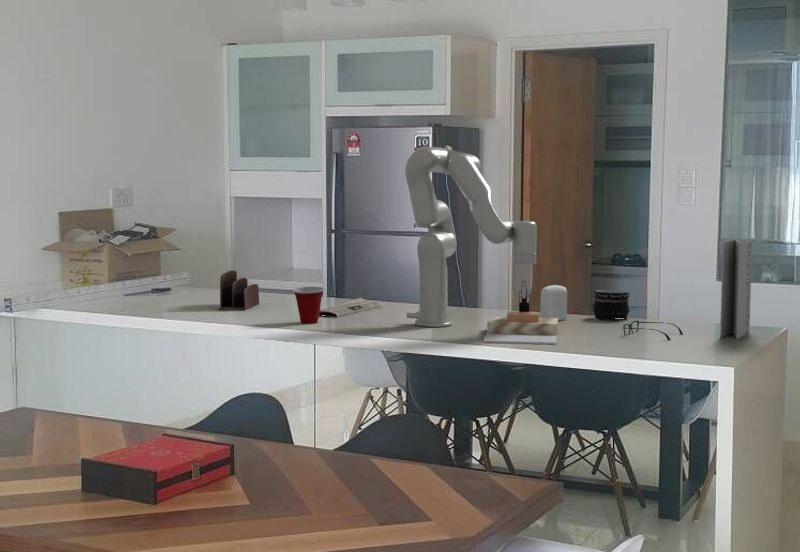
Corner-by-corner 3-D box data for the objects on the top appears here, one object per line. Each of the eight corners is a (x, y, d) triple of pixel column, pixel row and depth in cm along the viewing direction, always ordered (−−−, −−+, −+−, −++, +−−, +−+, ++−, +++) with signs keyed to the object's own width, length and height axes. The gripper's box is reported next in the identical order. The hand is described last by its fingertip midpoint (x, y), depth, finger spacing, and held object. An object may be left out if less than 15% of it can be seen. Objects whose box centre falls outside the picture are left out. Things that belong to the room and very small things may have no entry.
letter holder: (219, 310, 403) (219, 273, 402) (235, 304, 422) (234, 268, 421) (245, 311, 401) (245, 273, 400) (259, 304, 421) (259, 268, 420)
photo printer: (560, 318, 379) (560, 283, 378) (568, 320, 376) (569, 284, 375) (538, 320, 374) (538, 285, 373) (546, 322, 370) (546, 286, 369)
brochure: (737, 338, 333) (740, 242, 330) (719, 337, 336) (722, 241, 333) (749, 332, 345) (752, 240, 342) (732, 331, 348) (734, 239, 345)
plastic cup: (287, 324, 366) (287, 289, 365) (302, 319, 376) (301, 285, 375) (316, 325, 362) (315, 290, 361) (329, 321, 372) (329, 287, 371)
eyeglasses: (637, 331, 351) (637, 319, 351) (684, 335, 343) (685, 323, 343) (620, 338, 337) (620, 325, 337) (669, 342, 329) (670, 329, 329)
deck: (487, 335, 341) (487, 322, 340) (490, 328, 354) (490, 316, 354) (557, 336, 337) (557, 324, 337) (557, 330, 351) (558, 318, 351)
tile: (507, 321, 342) (507, 314, 342) (508, 318, 349) (508, 311, 349) (538, 322, 341) (538, 314, 341) (539, 319, 348) (539, 312, 347)
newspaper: (337, 319, 381) (337, 309, 381) (307, 316, 387) (307, 307, 387) (385, 308, 412) (385, 299, 412) (357, 306, 418) (357, 297, 418)
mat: (483, 342, 326) (483, 340, 325) (486, 335, 339) (486, 333, 339) (556, 344, 322) (556, 342, 322) (557, 337, 336) (557, 335, 336)
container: (613, 315, 388) (614, 288, 387) (637, 319, 377) (637, 291, 376) (585, 317, 382) (585, 289, 381) (607, 322, 371) (608, 293, 370)
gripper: (514, 257, 356) (513, 311, 358) (512, 260, 341) (511, 317, 343) (537, 257, 355) (536, 312, 357) (535, 261, 340) (535, 318, 342)
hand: (524, 314), depth 350 cm, fingers closed
